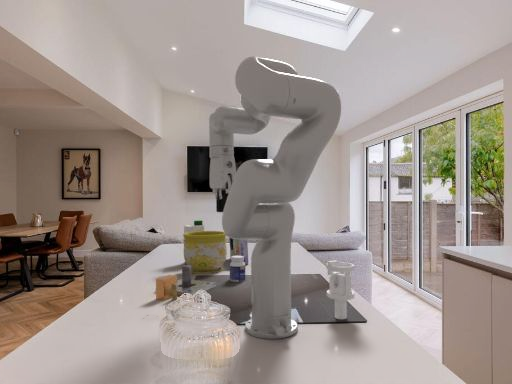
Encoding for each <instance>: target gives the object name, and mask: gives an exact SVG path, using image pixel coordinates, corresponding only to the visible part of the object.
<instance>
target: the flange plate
mask: <svg viewBox="0 0 512 384" xmlns="http://www.w3.org/2000/svg"><path fill="white" fill-rule="evenodd" d="M172 284H177V296H180V295H182V294H184V293H190V294H195V293H196V292H197V291H198V290H199V289H204V290H205V291H204V292H207V291H209V290H211V289H213V288H216V287H217V282H212V281H207V280H206V281H205V280H199V279H198V280H197V279H196V280H195V279H191V287H190V288H184V287H182V278H181V279H178V275H177V274H168V275H164V276H161V277H158V278H155V299H156V300H159V301H167V300H168V299H172Z"/></svg>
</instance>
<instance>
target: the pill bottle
mask: <svg viewBox="0 0 512 384" xmlns="http://www.w3.org/2000/svg"><path fill="white" fill-rule="evenodd" d="M230 260H231V262H229V281H230V282H235V283H238V282H244V281H246V264H245V263H244V262H243V260H244V256H231V259H230Z"/></svg>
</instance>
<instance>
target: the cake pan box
mask: <svg viewBox="0 0 512 384" xmlns="http://www.w3.org/2000/svg"><path fill="white" fill-rule="evenodd" d="M229 248H230V250H229V251H230V252H229V254H230V260H231V256H244V260H243V262H244V263H245V265H249V249H248V248H249V247H248V239H243V240H236V239H232V238H230V237H229Z"/></svg>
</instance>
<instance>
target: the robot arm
mask: <svg viewBox="0 0 512 384" xmlns="http://www.w3.org/2000/svg"><path fill="white" fill-rule="evenodd" d="M234 79H235V80H234V83H235V88H236V90H237V92H238V93H239V94H240V103H241V106H242V107H233V106H226V105H225V106H223V105H222V106H221V105H220V106H218V107H217V108H216V109H215V111H214V112H213V113H211V114H210V116H209V117H208V118H209V119H208V124H209V125H208V126H209V127H208V129H209V130H208V132H209V133H208V134H209V158H210V160H209V161H210V163H209V188H210V189H212V193H213V194H215V201H216V206H215V207H216V210H215V212H217V213H222V217H221V225H222V231H223V232H225V234H226V236H227V237H228V238H229V239H230V238H232V239H236V240H243V239H247V240H255V239H258V240H257V242H256V243H255V245H254V247H253V250H252V252H251V258H250V262H251V263H250V264H251V265H250V271H251V272H250V273H251V275H250V277H251V279H250V280H251V287H250V288H251V290H250V291H251V318H250V319H248V320H247V321H246V322H245V326H244V327H245V331H246V332H247V333H248V334H249V335H251V336H253V337H256V338H260V339H267V340H268V339H271V340H274V339H283V338H289V337H291V336H294V335H295V334H296V333H297V331H298V330H299V329H298V328H299V327H298V326H299V325H298V322H297V321H295V320H294V319H292V279H291V278H292V277H291V276H292V270H291V269H292V268H291V266H292V264H291V263H292V260H291V259H292V257H291V256H292V239H293V238H292V237H293V233H294V232H293V231H294V227H295V219H296V215H295V214H296V213H295V210H294V207H293V206H292V204H291V203H292V202H295V201H297V200H298V199H299V198H300V197H301V195H302V193H303V191H304V189H305V188H306V186H307V183H308V181H309V179H310V178H311V175H312V173H313V172H314V169H315V167H316V165H317V162H318V159H319V158H320V156H321V154H322V153H323V151H324V150H325V148H326V146H327V145H328V143H329V142H330V140H331V139H332V138H333V136H334V135H335V132H336V130H337V128H338V126H339V123H340V121H341V120H340V119H341V114H342V101H341V97H340V94H339V92H338V90H337V89H336V88H335V87H334V86H333V85H331V84H330V83H328V82H326V81H324V80H320V79H317V78H312V77H306V76H302V75H299V74H298V72H297V70H296V69H295V68H294V66H292V65H291V64H289V63H286V62H283V61H279V60H276V59H275V60H274V59H269V58H264V57H260V56H249V57H246V58H244V59H243V60H242V62H240V63H239V65H238V66H237V69H236V72H235V77H234ZM272 117H276V118H283V119H284V118H285V119H286V118H288V119H294V120H301V122H300V123H299V124H297V125H296V126H295V127H294V128H292V129H291V130H290V132H288V133H287V134H286V136H285V137H284V138H283V140H282V142H281V143H280V146H279V149H278V150H277V152H276V153H277V154H276V155H275V156H274V157H273V158H270V159H257V158H256V159H255V158H253V159H249V160H246V161H244V162H243V163H242V164H241V165H240V166H239V167H238V168H237V167H236V160H235V156H234V155H235V151H234V150H235V149H234V148H235V145H234V142H235V140H234V139H235V138H234V135H235V134H237V135H255V134H258V133H260V132H261V131H263V130H264V129H265V128H267V126H268V124H269V123H270V119H271V118H272Z"/></svg>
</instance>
